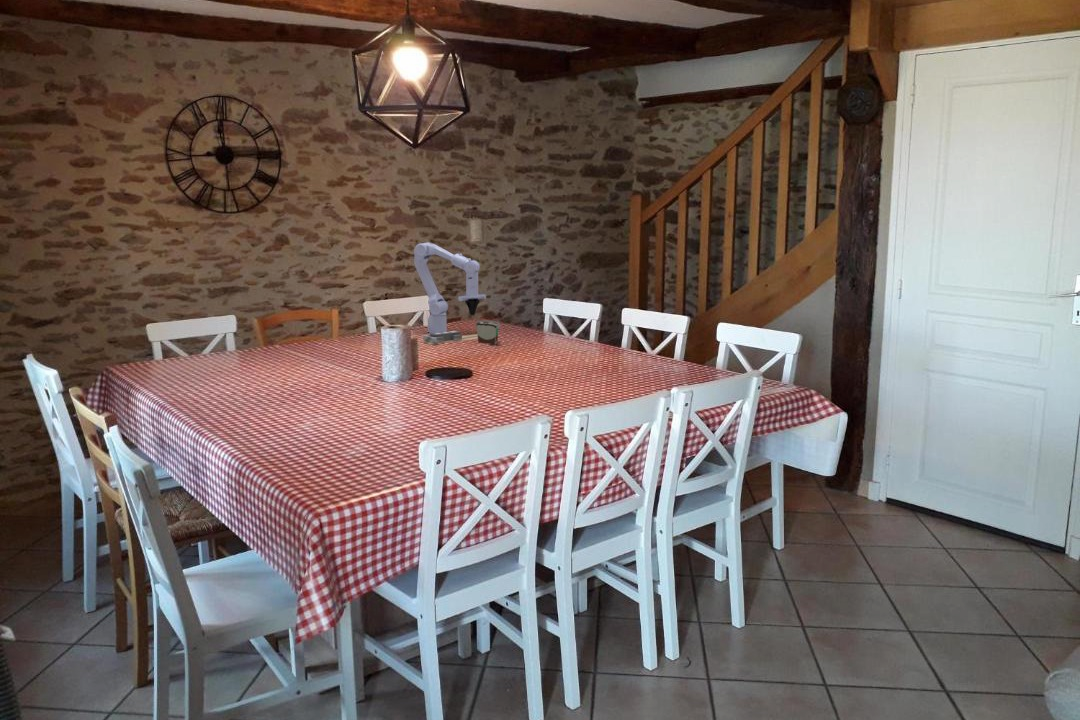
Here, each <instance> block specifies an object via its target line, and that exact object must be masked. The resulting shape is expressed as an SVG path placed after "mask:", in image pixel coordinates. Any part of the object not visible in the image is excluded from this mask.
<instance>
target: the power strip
mask: <svg viewBox="0 0 1080 720" xmlns="http://www.w3.org/2000/svg"><path fill="white" fill-rule="evenodd" d="M429 335H430V336H431V337H444V341H451V340H453V335H462V331H459V330H448V331H447V332H438V333H429Z"/></svg>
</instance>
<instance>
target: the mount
mask: <svg viewBox="0 0 1080 720" xmlns="http://www.w3.org/2000/svg"><path fill="white" fill-rule="evenodd" d="M422 337H423V340H420V343H423V344H426V345H428V346H429V345H430V346H438V345H441V344H445V343H446V344H447V343H453V342H461V341H469V340H478V335H477V333H474V334H465V335H463V334H461V335H453V340H451V341H444V337H431V336H430V334H423V336H422Z"/></svg>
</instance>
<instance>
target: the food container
mask: <svg viewBox="0 0 1080 720" xmlns="http://www.w3.org/2000/svg"><path fill="white" fill-rule="evenodd" d="M475 327H476V334H477V335H478V339H477V343H482V344H487V345H488V346H493V347H495V346H497V345H498V338H499V331H500V330H499V329H501V326H500V322H499V321H496V320H495V321H494V320H477V321H476V323H475Z"/></svg>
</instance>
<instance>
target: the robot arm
mask: <svg viewBox="0 0 1080 720" xmlns="http://www.w3.org/2000/svg"><path fill="white" fill-rule="evenodd" d="M413 253H414V257H413V260H414V261H413V263H414V266H415V269H416V271H417V274H418V276H419V278H420V281H421V283H422V286H423V288H424V290H425V292H426V294H427V296H428V306H429V312H430V315H429V316H428V318H427V330H426V333H428V332H429V334H430V333H438V332H447V328H448V327H447V326H448V325H447V323H448V321H447V311H448V310H449V304H448V302H447V301H446V300H445V299H444V297H443V295H441V294H440V292H439V291H438V288H437V286H436V284H435V282H434V279H433V276H432V274H431V272H430V270H429V268H428V265H427V263H428V260H429V259H430V257H431V256H433V255H434V256H435V255H436V256H439V257H441V258H443V259H445V260H448V261H450V262H451V264H452V265H453V266H454V267H457V268H459V269H461V270H464V272H465V280H466V281H465V286H466V287H465V290H466V291H465V293H466V294H465V295H461V296H458V297H457V299H458V301H459V302H463V301H465V304H466V306H467V308H468V310H469V314H470V316H475V315H476V311H477V308H478V306H479V304H480V300H486V299H487V294H484V293H483V294H479V271H480V268H481V265H480V263H479V262H478V261H477V260H475V259H473V260H472V259H471V257H469V258H468V257H466V256H464V255H463V253H461V252H460V253H454V254H453V253H451V252H449V251H448V250H446V249H444V248H443V247H440V246H439V245H437V244H435V243H432V242H429V241H427V242H424V243H418V244H416V245H415V247H414V250H413Z"/></svg>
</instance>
